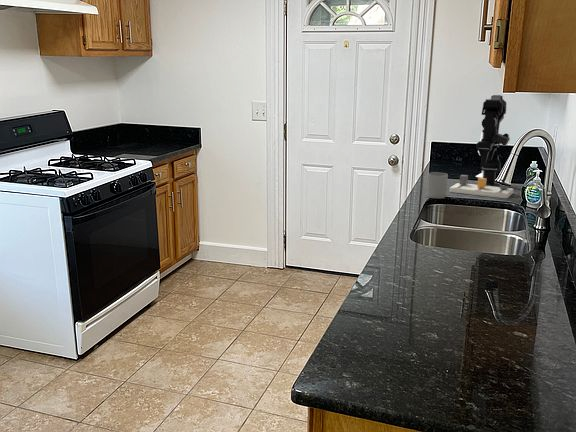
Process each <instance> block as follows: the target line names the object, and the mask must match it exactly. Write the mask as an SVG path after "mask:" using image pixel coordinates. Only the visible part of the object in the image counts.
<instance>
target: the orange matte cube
mask: <svg viewBox="0 0 576 432" xmlns="http://www.w3.org/2000/svg"><path fill="white" fill-rule="evenodd" d="M486 180H487V178H480V177H478V178H477V184H476V185H477V188H485V187H486V186H487V184H486Z"/></svg>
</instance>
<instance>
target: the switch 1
mask: <svg viewBox="0 0 576 432" xmlns="http://www.w3.org/2000/svg"><path fill="white" fill-rule="evenodd" d="M458 183H459V184H462V185H467V184H469V175H468V174H461V175H459V182H458Z"/></svg>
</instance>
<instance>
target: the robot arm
mask: <svg viewBox="0 0 576 432" xmlns="http://www.w3.org/2000/svg"><path fill="white" fill-rule="evenodd" d="M503 97H504V96H503V95H501V94H494V95H491V96H490V98H488V99H487V98H486V99H485V100H484V101H483V103H482V109H481V116H484V118H483V119H482V120H481V126H482V128H483V129H482V130H481V132H483V139H481V141H480V140H479V141H478V142H477V143H476V147H475V148H476V149H477V152H478V151H479V153H480V155H479V156H480V158H481V159H480V169H479V171H481V172H482V171H483V178H487V180H486V185H496V183H495V181H496V174H497V173H499V172H501V167H502V166H501V165H502V161H500V159H499V157H500V156H499V154H498V151H497V148H499V147H500V145H502V146H507V145H508V143H509V142H510V139H511V137H510V135H509V133H507V132H505V133H504V134H500V133H499V131H500V124H501V122H502V121H503V120H504V118H505V115H506V114H507V102H506V100H505V99H504V98H503ZM479 153H478V154H479Z"/></svg>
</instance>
